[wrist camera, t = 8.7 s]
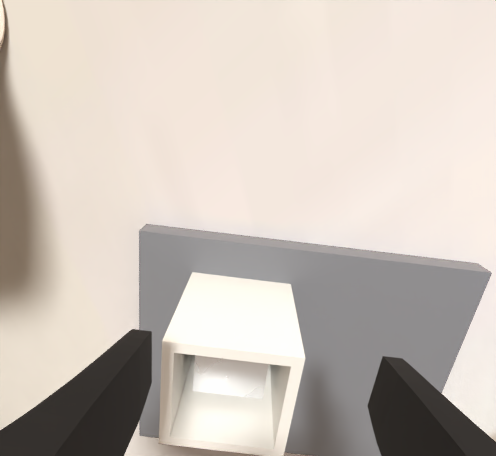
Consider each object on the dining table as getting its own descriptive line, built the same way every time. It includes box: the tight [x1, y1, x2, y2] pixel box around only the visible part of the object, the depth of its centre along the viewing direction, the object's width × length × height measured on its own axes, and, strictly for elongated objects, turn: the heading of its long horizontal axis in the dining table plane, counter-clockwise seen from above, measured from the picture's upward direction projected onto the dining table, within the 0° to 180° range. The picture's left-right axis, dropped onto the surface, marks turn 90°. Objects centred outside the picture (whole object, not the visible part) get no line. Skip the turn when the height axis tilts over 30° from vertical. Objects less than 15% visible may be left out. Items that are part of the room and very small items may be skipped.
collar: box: [159, 272, 305, 456], centre depth 16 cm, size 6×6×6 cm
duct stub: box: [193, 355, 269, 399], centre depth 18 cm, size 4×4×5 cm
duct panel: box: [139, 224, 492, 456], centre depth 21 cm, size 20×16×1 cm
